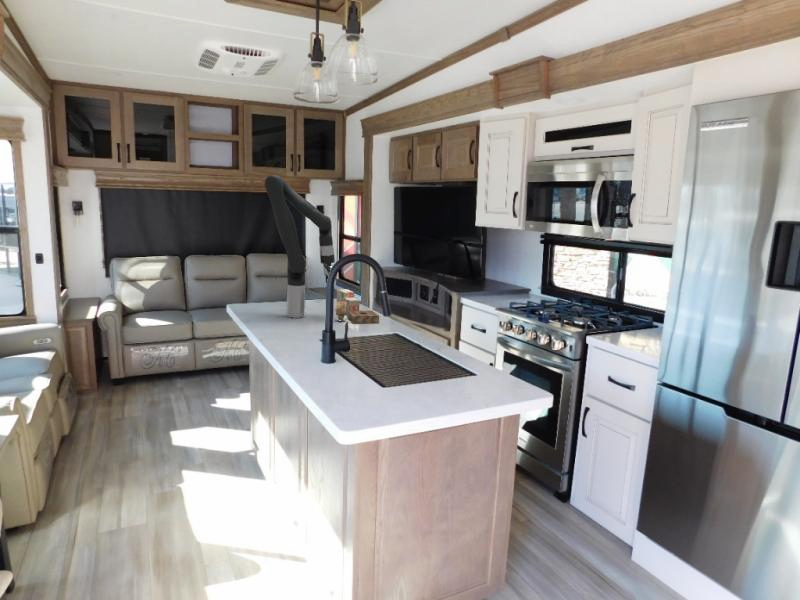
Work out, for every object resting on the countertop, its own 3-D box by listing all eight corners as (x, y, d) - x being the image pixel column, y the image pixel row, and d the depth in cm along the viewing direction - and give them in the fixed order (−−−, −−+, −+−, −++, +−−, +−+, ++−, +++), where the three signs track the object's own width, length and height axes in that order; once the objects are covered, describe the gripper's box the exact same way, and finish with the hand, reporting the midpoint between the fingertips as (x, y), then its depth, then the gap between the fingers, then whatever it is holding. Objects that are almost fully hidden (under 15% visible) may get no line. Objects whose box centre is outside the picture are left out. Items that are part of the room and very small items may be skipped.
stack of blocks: (359, 316, 303) (360, 294, 300) (348, 317, 300) (349, 295, 298) (346, 309, 321) (347, 288, 319) (336, 309, 319) (336, 288, 317)
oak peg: (336, 322, 285) (337, 303, 284) (334, 319, 290) (335, 301, 289) (346, 321, 287) (347, 303, 285) (344, 319, 292) (345, 301, 290)
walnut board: (352, 323, 284) (353, 316, 283) (347, 318, 297) (347, 310, 296) (378, 323, 288) (379, 315, 287) (372, 317, 301) (372, 310, 300)
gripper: (317, 253, 294) (320, 283, 297) (322, 256, 281) (325, 287, 284) (331, 252, 296) (333, 281, 299) (337, 254, 283) (339, 285, 286)
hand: (329, 284), depth 292 cm, fingers open, 8 cm apart
